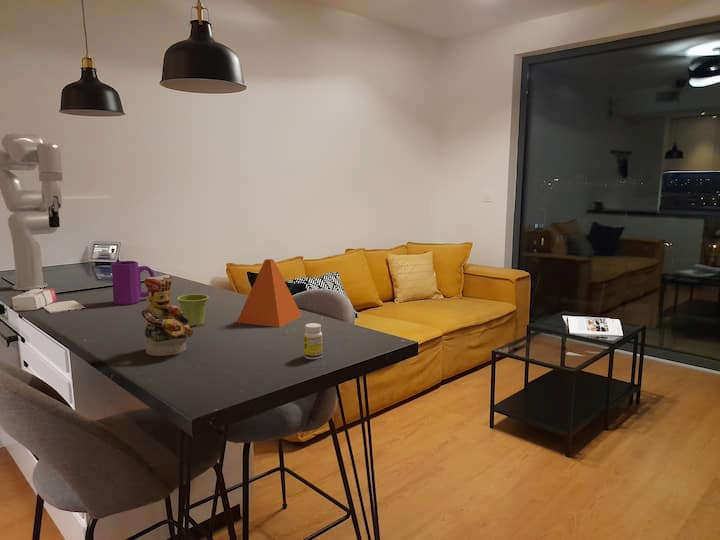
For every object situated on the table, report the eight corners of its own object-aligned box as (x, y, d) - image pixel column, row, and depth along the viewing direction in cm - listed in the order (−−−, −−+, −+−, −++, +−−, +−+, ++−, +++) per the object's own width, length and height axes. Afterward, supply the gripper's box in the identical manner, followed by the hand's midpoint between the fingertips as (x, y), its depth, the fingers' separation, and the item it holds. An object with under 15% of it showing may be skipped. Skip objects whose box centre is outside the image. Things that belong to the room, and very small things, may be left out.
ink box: (54, 287, 192) (34, 296, 181) (57, 300, 193) (37, 310, 182) (31, 288, 192) (9, 298, 181) (34, 301, 194) (12, 312, 182)
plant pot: (215, 322, 169) (214, 295, 168) (197, 329, 160) (196, 301, 159) (190, 319, 172) (189, 293, 171) (171, 326, 163) (170, 299, 162)
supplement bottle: (304, 353, 138) (304, 322, 137) (322, 353, 138) (322, 322, 137) (303, 359, 133) (303, 327, 132) (322, 359, 134) (322, 327, 132)
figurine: (144, 362, 130) (139, 282, 127) (142, 345, 144) (138, 273, 141) (195, 356, 135) (192, 279, 132) (189, 340, 149) (186, 270, 146)
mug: (109, 302, 196) (107, 262, 194) (151, 296, 206) (149, 258, 204) (118, 306, 189) (115, 265, 187) (161, 300, 200) (159, 261, 197)
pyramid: (236, 322, 169) (234, 261, 166) (261, 312, 184) (260, 255, 181) (279, 327, 164) (278, 264, 161) (302, 316, 178) (301, 257, 175)
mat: (40, 305, 189) (39, 304, 189) (73, 301, 197) (73, 300, 197) (50, 313, 178) (50, 312, 178) (85, 308, 186) (85, 307, 186)
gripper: (34, 177, 198) (38, 226, 201) (43, 177, 187) (47, 229, 190) (57, 177, 203) (60, 225, 206) (67, 178, 192) (70, 228, 195)
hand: (54, 227), depth 198 cm, fingers closed
